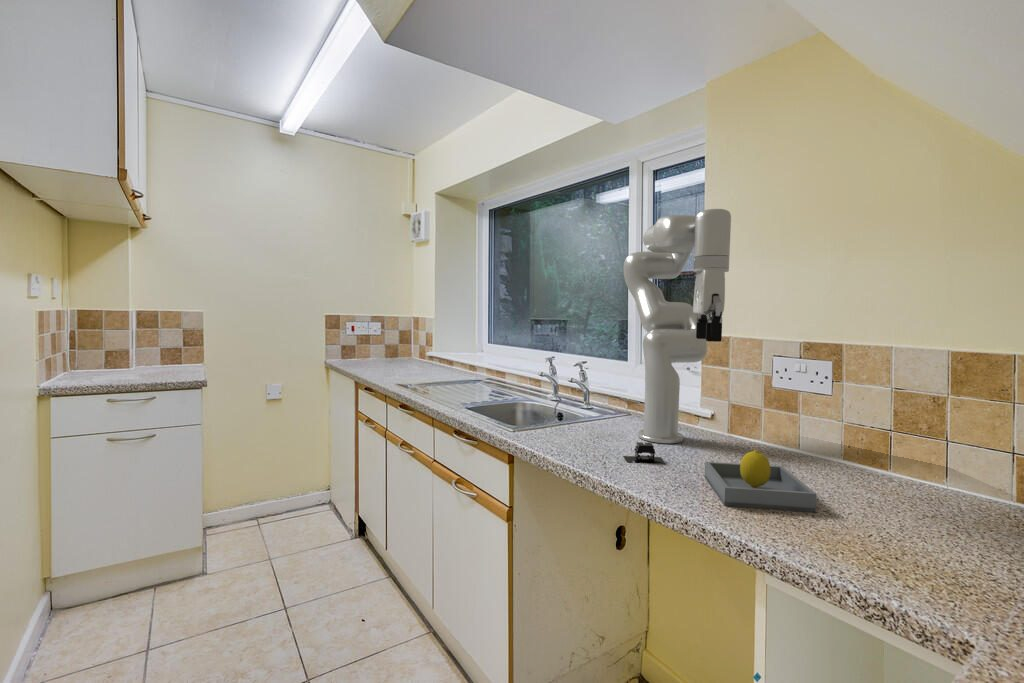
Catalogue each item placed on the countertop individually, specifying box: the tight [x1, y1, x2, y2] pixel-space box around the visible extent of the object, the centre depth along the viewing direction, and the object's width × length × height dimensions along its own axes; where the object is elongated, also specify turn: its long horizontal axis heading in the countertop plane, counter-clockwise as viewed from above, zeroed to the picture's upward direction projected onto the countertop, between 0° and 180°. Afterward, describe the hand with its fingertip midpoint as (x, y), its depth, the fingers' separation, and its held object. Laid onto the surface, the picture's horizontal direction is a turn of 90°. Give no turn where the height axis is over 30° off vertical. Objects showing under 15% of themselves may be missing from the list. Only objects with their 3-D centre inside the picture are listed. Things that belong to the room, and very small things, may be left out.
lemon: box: [739, 449, 771, 488], centre depth 98 cm, size 6×6×8 cm
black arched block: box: [622, 441, 666, 465], centre depth 119 cm, size 12×7×5 cm, turn 87°
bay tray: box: [704, 461, 817, 513], centre depth 98 cm, size 16×16×4 cm
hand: (708, 340), depth 111 cm, fingers open, 9 cm apart
